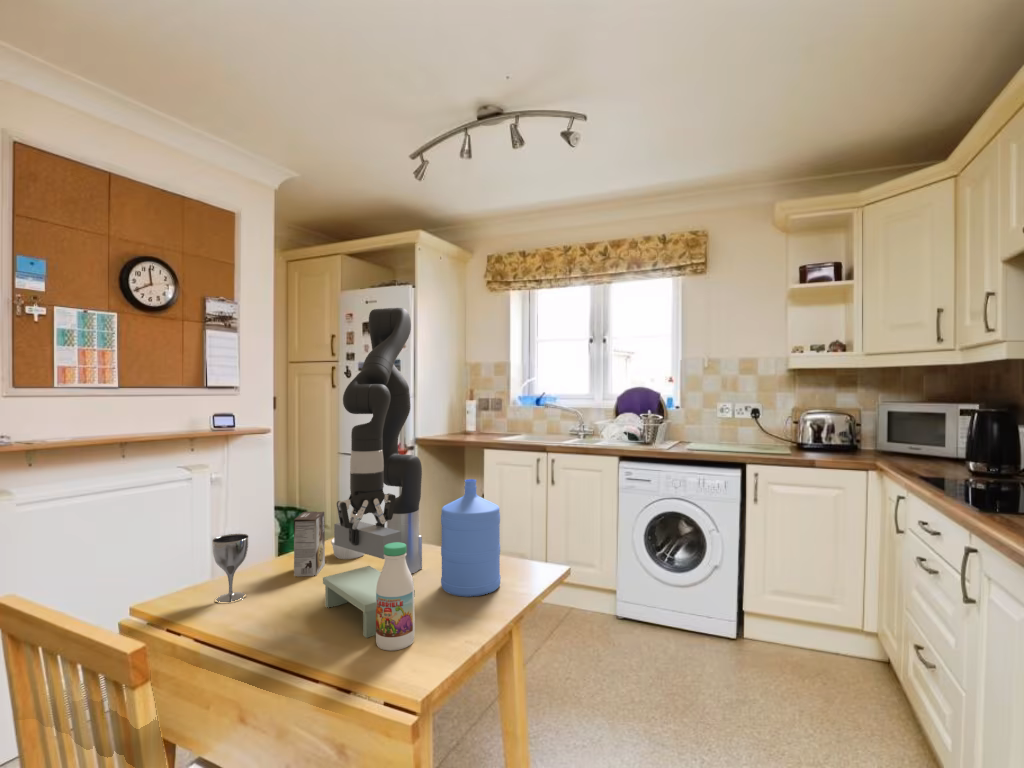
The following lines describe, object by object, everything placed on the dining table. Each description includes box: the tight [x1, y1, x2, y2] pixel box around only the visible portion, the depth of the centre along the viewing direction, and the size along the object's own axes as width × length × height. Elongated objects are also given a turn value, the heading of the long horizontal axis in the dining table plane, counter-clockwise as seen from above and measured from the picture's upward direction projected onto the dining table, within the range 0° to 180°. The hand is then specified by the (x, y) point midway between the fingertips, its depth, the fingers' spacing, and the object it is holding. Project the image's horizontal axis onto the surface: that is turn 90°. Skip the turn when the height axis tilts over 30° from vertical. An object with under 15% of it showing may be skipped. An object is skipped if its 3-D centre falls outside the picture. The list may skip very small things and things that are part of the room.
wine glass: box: [211, 533, 249, 602], centre depth 129 cm, size 8×8×15 cm
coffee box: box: [293, 511, 326, 577], centre depth 148 cm, size 9×6×16 cm
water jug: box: [440, 478, 502, 598], centre depth 136 cm, size 16×16×28 cm
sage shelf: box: [322, 565, 416, 639], centre depth 119 cm, size 12×22×7 cm, turn 42°
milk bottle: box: [375, 542, 415, 652], centre depth 106 cm, size 8×8×20 cm
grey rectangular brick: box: [333, 520, 401, 560], centre depth 119 cm, size 5×18×5 cm, turn 53°
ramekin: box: [330, 538, 365, 560], centre depth 162 cm, size 11×11×5 cm
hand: (366, 541), depth 119 cm, fingers closed on grey rectangular brick, 5 cm apart
